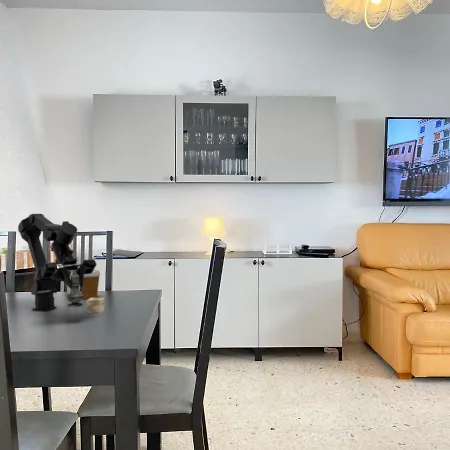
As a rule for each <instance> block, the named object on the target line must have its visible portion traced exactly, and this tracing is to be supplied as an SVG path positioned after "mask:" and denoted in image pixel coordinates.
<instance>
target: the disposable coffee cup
mask: <svg viewBox="0 0 450 450" xmlns="http://www.w3.org/2000/svg"><path fill="white" fill-rule="evenodd" d="M100 276H101V272H100V269H99V270H98V269H94V270H93V272H92V273H91V274H84V279H83V287H81V286H80V290H81V291H80V293H81V294H84V296H83V299H82V300H88V299H90V298H98V292H99V283H100Z"/></svg>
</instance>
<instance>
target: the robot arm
mask: <svg viewBox="0 0 450 450" xmlns="http://www.w3.org/2000/svg"><path fill="white" fill-rule="evenodd" d="M17 230H18V231H17V232H18V233H19V235H20V236H21V239H22V240H24V241H25V242H26V243H27V246H28V249H29V252H30V257H31V260H32V263H33V266H34V270H35V275H34V278H33V282H32V285H31V288H30V293H31V295H33V296H34V306H35V307H33V308H32V311H44V312H47V311H50V310H54V309H57V306H56V305H55V297H54V294H57V293H58V290H59V289H58V288H59V283H60V282H63V283H64V285H66V286H67V287H68V288H69V289H70V290H71V288H72V283H71V275H72V272H76V274H78V275H79V284H80V288H81V287H83V279H84V274H91V273H92V272H93V270H95V268H96V267H97V262H96V260H95V259H93V258H91V259H84V260H83V261H82V263H81V264H80V263H77V262H78V259H77V257H76V258H75V256H74V253H75V252H74V250H73V249H71V247H70V245H71V244H72V243H73V241H74V239H75V237H76V235H77V232H78V228H77V227H76V226H75V225H74V224H72V223H70V221H69V220H67V221H65V220H64V221H62V223H61V224H57V223H53V222H52V221H51V220H50V219H48V218H47V217H46V216H45V215H44V214H43V213H31V214H29V215H28V217H26V218H24V219H22V220H21V221H20V222H19V223H18V225H17ZM42 232H43V234H42ZM41 234H42V235H43V238H44V239H45V241H46V242H52V243H51V248H50V251H51V252H53V253H54V256H55V261H53V262H48V261H47V259H46V255H45V253H44V249H43V245H42V242H41V238H40V236H41Z"/></svg>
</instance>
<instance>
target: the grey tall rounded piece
mask: <svg viewBox="0 0 450 450" xmlns="http://www.w3.org/2000/svg"><path fill="white" fill-rule="evenodd" d="M70 279H71V283H72V288H71V289H70V292H69V293H68V294H66V297H67V301H68V302H69V303H68V304H67V307H69V308H78V307H83V306H84V304H83V303H82V302H81V301H83V300H84V299H83V296H84V294H82V293H81V291H80V290H81V286H80V284H79V275H78V274H76V272H75V271H73V274H71V275H70Z"/></svg>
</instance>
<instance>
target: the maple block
mask: <svg viewBox="0 0 450 450" xmlns="http://www.w3.org/2000/svg"><path fill="white" fill-rule="evenodd" d="M104 311H105V298H104V297H97V298H90V299H86V312H87V313H86V314H101V313H102V312H104Z"/></svg>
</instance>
